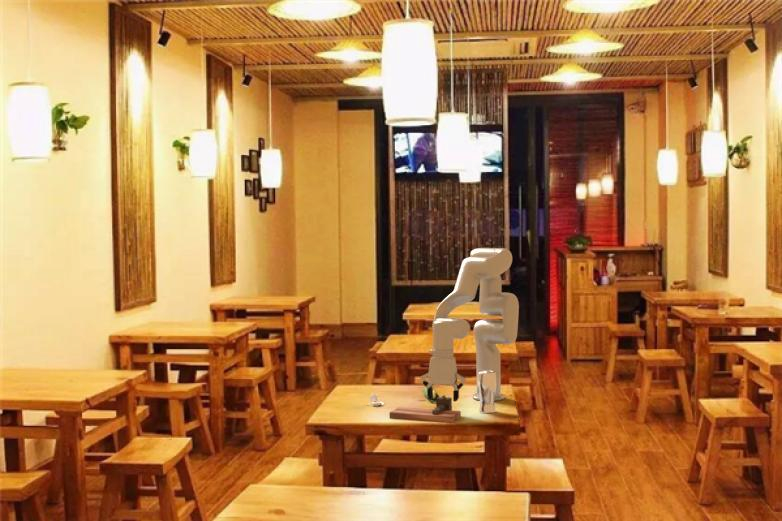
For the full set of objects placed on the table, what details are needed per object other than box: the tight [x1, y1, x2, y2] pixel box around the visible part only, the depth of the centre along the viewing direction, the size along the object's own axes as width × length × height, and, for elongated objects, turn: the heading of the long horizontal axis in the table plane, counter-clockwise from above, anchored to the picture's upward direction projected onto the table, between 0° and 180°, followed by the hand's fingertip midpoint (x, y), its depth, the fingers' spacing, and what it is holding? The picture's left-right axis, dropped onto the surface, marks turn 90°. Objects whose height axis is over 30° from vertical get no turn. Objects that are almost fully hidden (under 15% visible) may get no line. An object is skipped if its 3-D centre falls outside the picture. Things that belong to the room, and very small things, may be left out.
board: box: [389, 406, 462, 423], centre depth 355 cm, size 10×24×2 cm, turn 69°
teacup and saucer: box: [369, 393, 385, 407], centre depth 380 cm, size 9×8×4 cm
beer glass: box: [478, 370, 496, 414], centre depth 363 cm, size 7×7×15 cm
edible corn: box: [422, 385, 440, 404], centre depth 388 cm, size 5×20×5 cm, turn 6°
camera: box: [432, 394, 453, 415], centre depth 356 cm, size 12×5×7 cm, turn 159°
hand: (442, 400), depth 359 cm, fingers open, 9 cm apart
